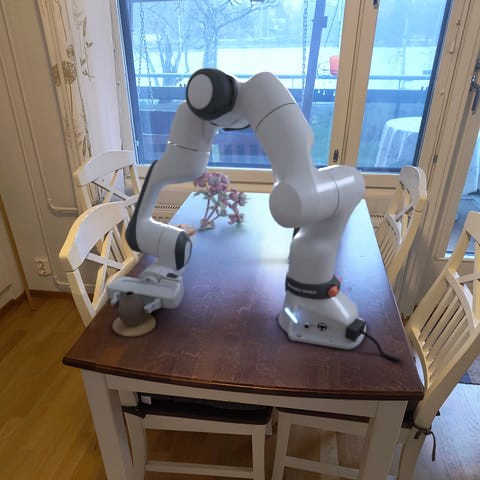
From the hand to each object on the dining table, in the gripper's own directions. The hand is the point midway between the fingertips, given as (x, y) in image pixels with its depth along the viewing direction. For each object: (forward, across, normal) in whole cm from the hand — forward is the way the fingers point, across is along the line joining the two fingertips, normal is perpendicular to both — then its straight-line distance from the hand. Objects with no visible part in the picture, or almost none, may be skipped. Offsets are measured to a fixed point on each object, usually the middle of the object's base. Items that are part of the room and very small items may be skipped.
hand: (129, 307), depth 107 cm
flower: (-76, 0, +6) cm, 76 cm away
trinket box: (-48, -7, +6) cm, 49 cm away
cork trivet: (-1, 0, +6) cm, 6 cm away
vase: (-1, 0, +6) cm, 6 cm away
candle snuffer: (-54, +32, +9) cm, 63 cm away
